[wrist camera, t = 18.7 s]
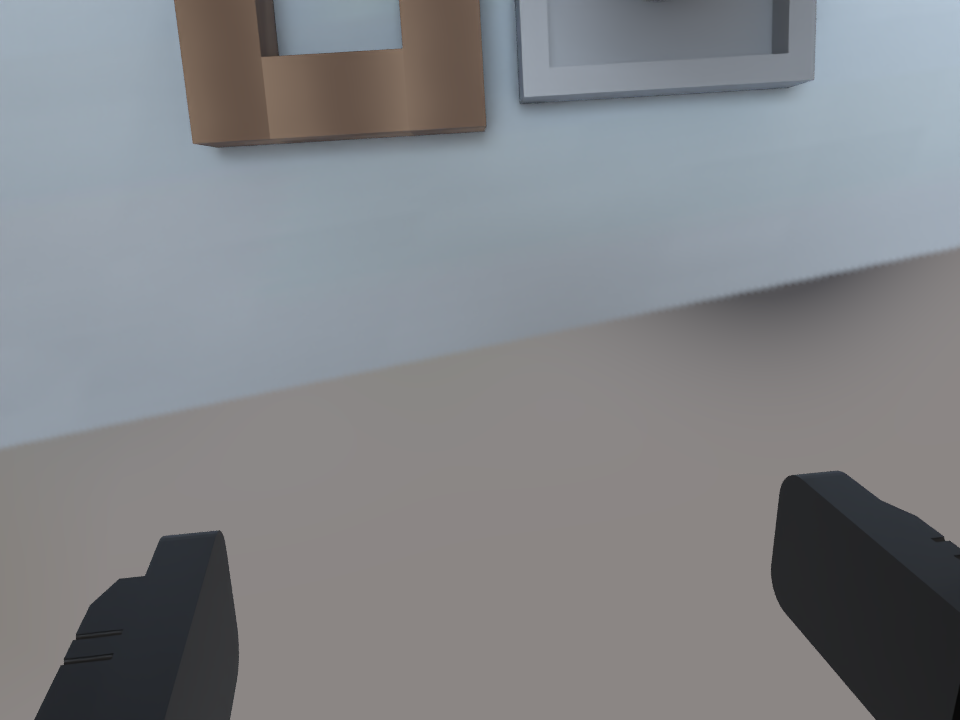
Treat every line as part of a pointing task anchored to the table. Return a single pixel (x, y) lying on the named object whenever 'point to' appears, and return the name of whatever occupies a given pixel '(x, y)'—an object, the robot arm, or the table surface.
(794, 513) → the robot arm
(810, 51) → the grey tray
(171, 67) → the table surface
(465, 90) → the walnut block
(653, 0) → the steel pin
